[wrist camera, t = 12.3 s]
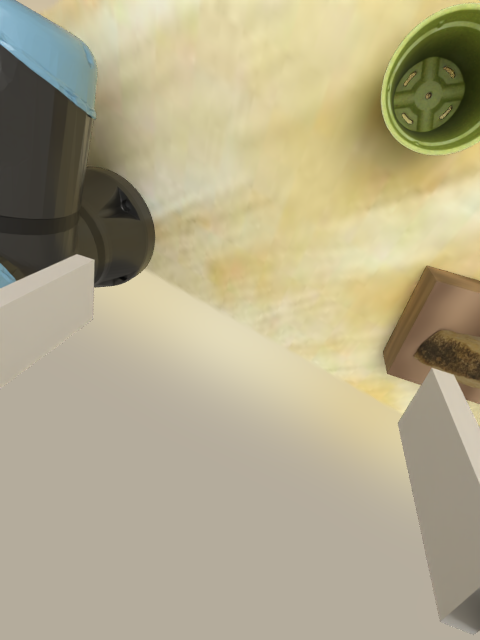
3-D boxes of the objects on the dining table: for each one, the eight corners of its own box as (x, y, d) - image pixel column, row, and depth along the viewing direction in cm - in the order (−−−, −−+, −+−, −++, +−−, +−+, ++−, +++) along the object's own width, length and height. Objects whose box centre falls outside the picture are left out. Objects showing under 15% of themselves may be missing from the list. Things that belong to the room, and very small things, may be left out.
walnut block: (383, 351, 46) (387, 373, 42) (426, 265, 40) (436, 280, 36) (495, 387, 44) (511, 414, 40) (557, 303, 39) (585, 323, 34)
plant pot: (423, 172, 36) (443, 181, 29) (352, 111, 36) (354, 104, 28) (509, 81, 32) (560, 63, 24) (430, 9, 31) (457, -33, 24)
